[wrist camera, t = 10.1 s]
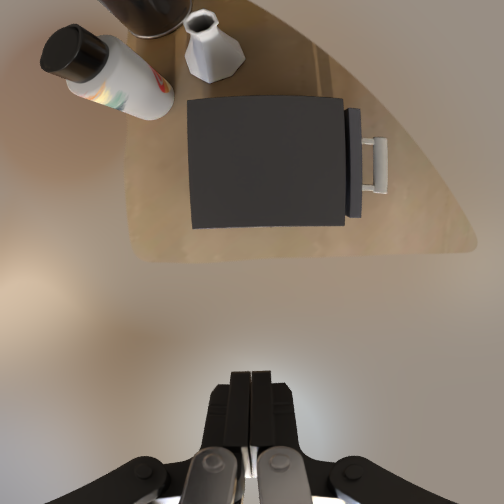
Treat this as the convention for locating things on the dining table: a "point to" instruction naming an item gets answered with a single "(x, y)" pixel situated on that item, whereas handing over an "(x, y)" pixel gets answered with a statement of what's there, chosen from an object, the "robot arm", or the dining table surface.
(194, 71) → the flask
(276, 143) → the cabinet
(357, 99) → the dining table surface
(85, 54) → the lotion bottle
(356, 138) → the drawer
